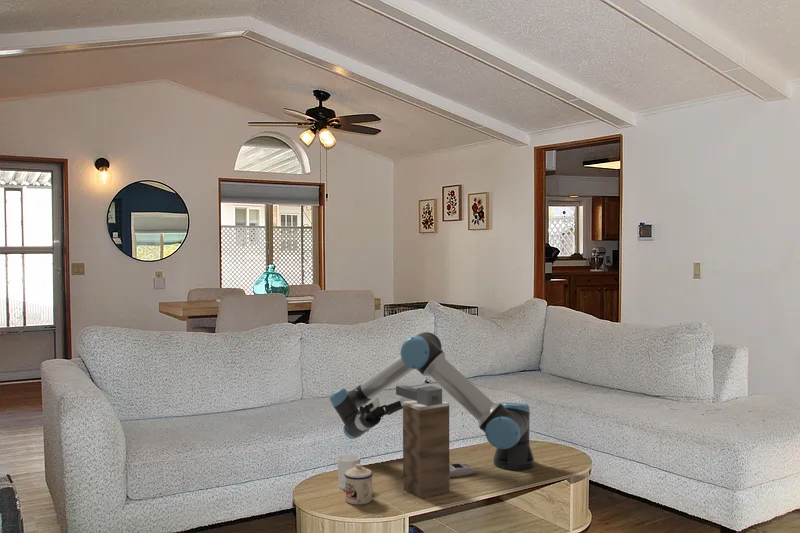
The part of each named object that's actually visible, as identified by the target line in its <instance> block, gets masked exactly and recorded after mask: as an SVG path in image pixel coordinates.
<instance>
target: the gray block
mask: <svg viewBox="0 0 800 533" xmlns="http://www.w3.org/2000/svg"><path fill="white" fill-rule="evenodd" d="M395 395H396V396H400V397H401V398H402V397H406V398H409V399H412V400H415V401H417V403H419V404H422V405H425V406H432V405H438V404H442V401H443V388H442V387H441V388H440V387H436V386H434V385H433V386H432V385H430V386H421V387H417V388H416V387H415V388H414V387H410V386H407V385H405V384H401V385H396V386H395Z"/></svg>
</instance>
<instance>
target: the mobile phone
mask: <svg viewBox="0 0 800 533" xmlns="http://www.w3.org/2000/svg"><path fill="white" fill-rule="evenodd" d="M477 473H478V470H473V467H471V466H470V465H468V464H467V463H451V464H449V478H454V476H456V477H463V475H464V476H469V475H474V474H477Z"/></svg>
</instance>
